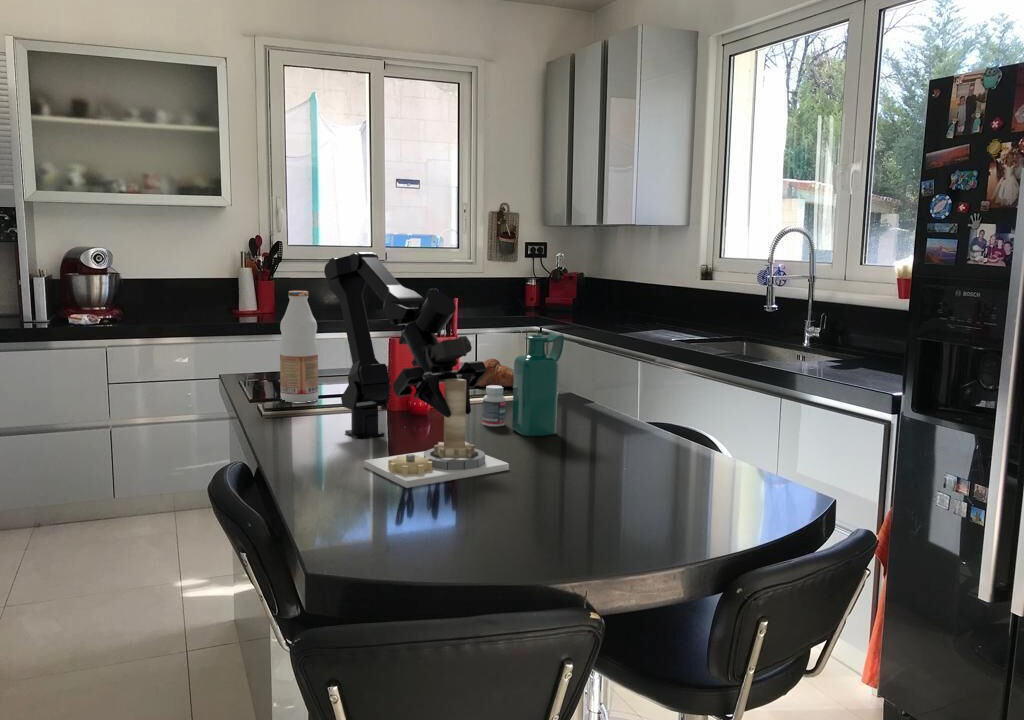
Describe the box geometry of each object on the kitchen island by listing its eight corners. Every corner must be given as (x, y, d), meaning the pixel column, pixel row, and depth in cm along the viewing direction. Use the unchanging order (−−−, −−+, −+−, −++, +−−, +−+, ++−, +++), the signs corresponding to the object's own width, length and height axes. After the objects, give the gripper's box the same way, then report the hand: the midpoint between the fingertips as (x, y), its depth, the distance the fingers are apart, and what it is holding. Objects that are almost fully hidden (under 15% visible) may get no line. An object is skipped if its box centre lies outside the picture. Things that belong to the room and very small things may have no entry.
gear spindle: (432, 449, 168) (433, 377, 166) (471, 448, 169) (473, 376, 167) (435, 459, 161) (437, 384, 159) (476, 458, 162) (478, 384, 160)
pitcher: (523, 437, 191) (526, 337, 188) (509, 429, 199) (511, 332, 195) (564, 434, 194) (567, 336, 191) (549, 426, 202) (552, 331, 199)
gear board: (363, 466, 165) (363, 447, 164) (461, 451, 178) (462, 433, 177) (406, 487, 152) (406, 467, 151) (508, 469, 165) (509, 450, 164)
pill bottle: (502, 427, 200) (503, 389, 198) (480, 426, 201) (480, 388, 200) (507, 422, 205) (508, 385, 204) (485, 421, 206) (486, 384, 205)
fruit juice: (280, 404, 219) (278, 292, 215) (280, 397, 228) (279, 289, 224) (318, 403, 222) (318, 292, 217) (317, 396, 231) (317, 290, 226)
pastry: (469, 391, 244) (470, 363, 243) (452, 382, 258) (453, 355, 257) (525, 389, 250) (526, 361, 249) (506, 380, 264) (506, 354, 263)
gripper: (401, 324, 158) (436, 394, 152) (482, 319, 170) (518, 384, 164) (378, 362, 165) (410, 430, 159) (457, 354, 177) (490, 418, 171)
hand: (459, 414), depth 163 cm, fingers open, 4 cm apart
